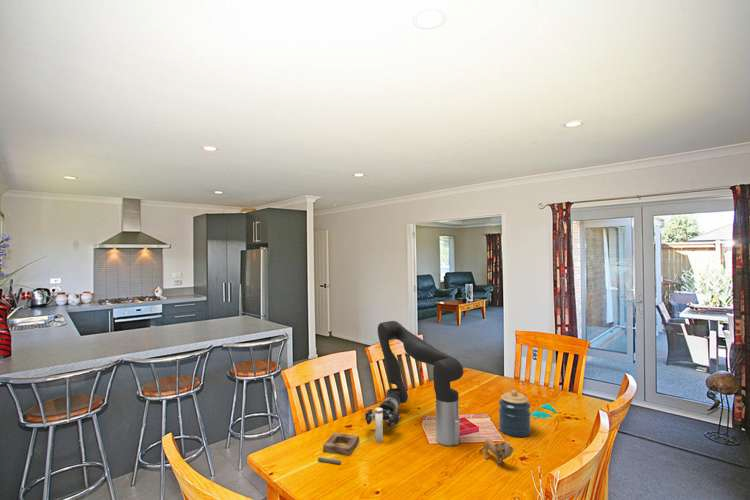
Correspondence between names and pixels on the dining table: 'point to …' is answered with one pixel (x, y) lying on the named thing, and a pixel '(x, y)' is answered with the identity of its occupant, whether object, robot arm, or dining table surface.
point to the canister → (514, 414)
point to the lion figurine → (498, 450)
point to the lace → (329, 460)
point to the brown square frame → (339, 448)
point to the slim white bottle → (379, 424)
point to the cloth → (542, 414)
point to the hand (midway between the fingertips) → (378, 423)
